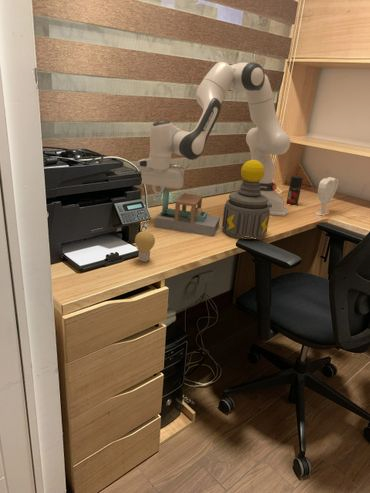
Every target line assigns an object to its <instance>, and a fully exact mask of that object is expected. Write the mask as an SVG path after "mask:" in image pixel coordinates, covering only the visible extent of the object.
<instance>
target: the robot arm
mask: <svg viewBox="0 0 370 493" xmlns="http://www.w3.org/2000/svg"><path fill="white" fill-rule="evenodd" d="M271 86H272V85H271V83H270V80H269V77H268V75H266V73H265V71H264V69H263V67H262V65H260V64H259V63H257V62H245V61H244V62H238V63H233V64H231V63H230V64H229V63H227V62H225V61H219V62H216V63H215V64H214V65H213V66H212V67H211V69H210V70H208V72H207V73H206V75H204V77H203V79H202V81H201V82H200V84H199V85H198V87H197V89H196V92H195V98H196V103H197V104H198V105H199V106H200V107H201V108H202V114H201V116H200V118H199V120H198V122H197V124H196V126H195V128H194V129H193V130H192V131H187V130H182V128H178V127H177V126H176V125H174V124H173V123H172V121H170V120H158V121H155V122H153V123H152V125H151V127H150V134H149V135H150V136H149V149H150V150H149V155H148V157H145V158H142V159H139V160H138V161H137V162H136V163H137V164H136V165H137V167H136V168H138V169H139V170H140V171H141V174H142V184H141V185H146V186H147V185H148V186H151V189H152V191H153V192H154V197H158V198H161V197H162V198H163V190H166V188H169V189H175V190H180V189H182V188H183V187H184V177H185V172H186V171H185V168H184V167H183V166H182V165H179V164H177V165H176V164H172V154H176V155H178V156H182V157H184V159H185V158H186V159H187V160H191V161H193V160H196V159H198V158H200V157H201V156H202V154H203V153H204V152H205V148H206V145H207V141H208V139H209V137H210V134H211V133H212V130H213V129H214V126H215V124H216V122H217V120H218V118H219V116H220V113H221V110H222V102H223V101H224V99H225V97H226V95H227V93H228V92H239V93H240V92H245V93H246V98H247V104H248V109H249V116H250V120H251V121H252V123H253V124H254V125H255V127H252V128H250V129H249V130H248V131H247V133H246V136H245V141H246V144H247V146H248V148H249V151H250V158H251V159H250V160H257V161H259V162H260V163H262V165H263V166H264V170H265V172H264V176H263V178H262V179H261V180H260V181H259V182H260V185H259V186H260V190H259V191H260V192H261V194H262V195H264V196H266V197H267V198H268V203H267V204H268V205H269V206H270V208H269V210H270V215H271V216H281V217H282V216H283V217H284V216H285V217H286V216H287V215H288V212H289V211H288V208H286V207H285V201H284V198H283V196H281V195H280V194H279V193H278V192H277V187H278V186H277V184H276V183H275V182H273V181H274V180H273V179H274V176H275V174H274V173H275V169H276V168H275V164H274V162H273V160H272V157H271V156H273V155H275V156H276V155H279V156H280V155H284V154H285V153H286V152H288V150H289V149H290V145H291V138H290V136H289V134H288V133H286V132H285V130H284V128H283V127H282V125H281V123H280V121H279V119H278V116H277V113H276V108H275V102H274V95H273V91H272V87H271ZM157 187H160V191H158V189H157ZM270 215H269V216H270Z"/></svg>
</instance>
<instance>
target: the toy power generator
mask: <svg viewBox="0 0 370 493" xmlns="http://www.w3.org/2000/svg"><path fill="white" fill-rule="evenodd" d="M264 172H265V170H264V166H263V165H262V163H260V162H259V161H257V160H251V159H250V160H247V161H246V162H244V163H243V165H242V166H241V169H240V176H241V178H242V183H241V184H240V188H239V189H238V190H236V191H234V192H231V193H229V196H228V199H227V200H226V201H225V205H224V207H223V214H222V215H223V216H222V224H221V227H222V231H223V232H224V234H226V235H227V236H229V237H231V238H235V239H237V238H238V239H239V240H241V239H240V238H242V237H245V236H249V237H253V238H256V239H257V240H260V239H262V238H264V237H265V235H266V233H267V231H268V226H269V221H270V220H269V219H270V210H269V208H270V206H269V205H268V204H267V203H268V198H267V197H266V196H264V195H262V194H261V192H260V191H259V190H260V186H259V185H260V182H259V181H260V180H261V179H262V178H263V176H264ZM238 239H237V240H238Z"/></svg>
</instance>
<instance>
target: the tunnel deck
mask: <svg viewBox="0 0 370 493" xmlns="http://www.w3.org/2000/svg"><path fill="white" fill-rule="evenodd" d="M202 202H203V195H198V194H192V193H187V192H186V193H183V194H182V195H181V196H180V197H178V199H176V201H175V207H174V209H175V215H172V214H163V213H162V211H161V212H159V213H158V215H156V216H155V219H154V221H155V222H154V227H155V228H160V229H165V230H171V231H178V232H182V233H183V232H185V233H191V234H196V235H197V234H198V235H203V236H210V237H214V236H215V234H216V232H217V231H218V228H219V227H220V222H221V221H220V220H221V217H220V216H217V215H211V214H207V217H206V219H205V220H204V221H198V220H195V212H196V208H202ZM187 207H191V209H190V211H191V218H190V219H188V217H185V216H179V212H180V210H182V211H187Z"/></svg>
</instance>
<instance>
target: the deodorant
mask: <svg viewBox="0 0 370 493" xmlns="http://www.w3.org/2000/svg"><path fill="white" fill-rule="evenodd" d="M303 179H304V177H303V176H299V175H291V177H290V181H289V182H290V183H289V188H288V193H287V197H286V198H287V199H286V203H287V204H290V205H297V206H298V203H299V199H300V195H301V190H302V184H303ZM287 204H286V205H287ZM290 205H289V206H290Z"/></svg>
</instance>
